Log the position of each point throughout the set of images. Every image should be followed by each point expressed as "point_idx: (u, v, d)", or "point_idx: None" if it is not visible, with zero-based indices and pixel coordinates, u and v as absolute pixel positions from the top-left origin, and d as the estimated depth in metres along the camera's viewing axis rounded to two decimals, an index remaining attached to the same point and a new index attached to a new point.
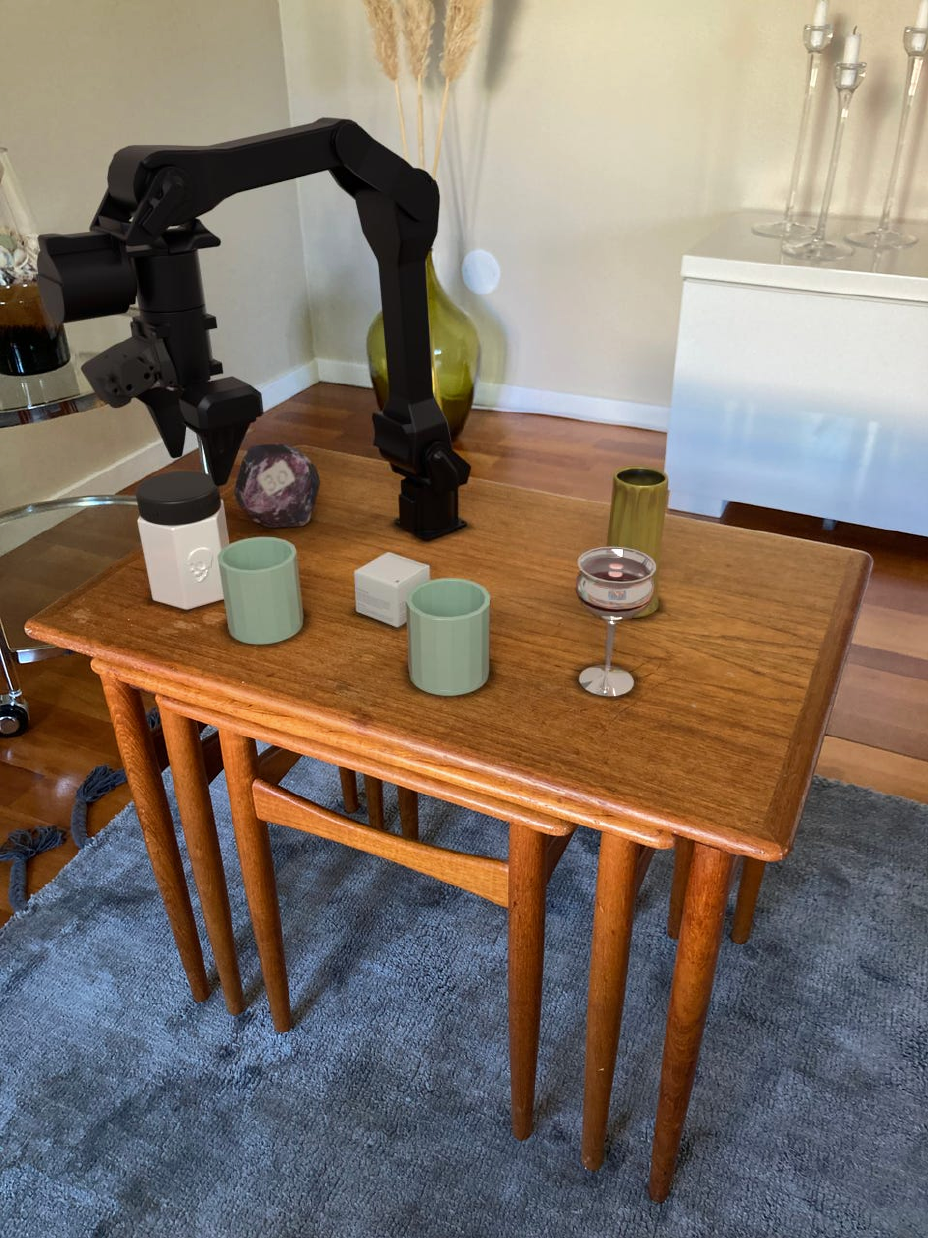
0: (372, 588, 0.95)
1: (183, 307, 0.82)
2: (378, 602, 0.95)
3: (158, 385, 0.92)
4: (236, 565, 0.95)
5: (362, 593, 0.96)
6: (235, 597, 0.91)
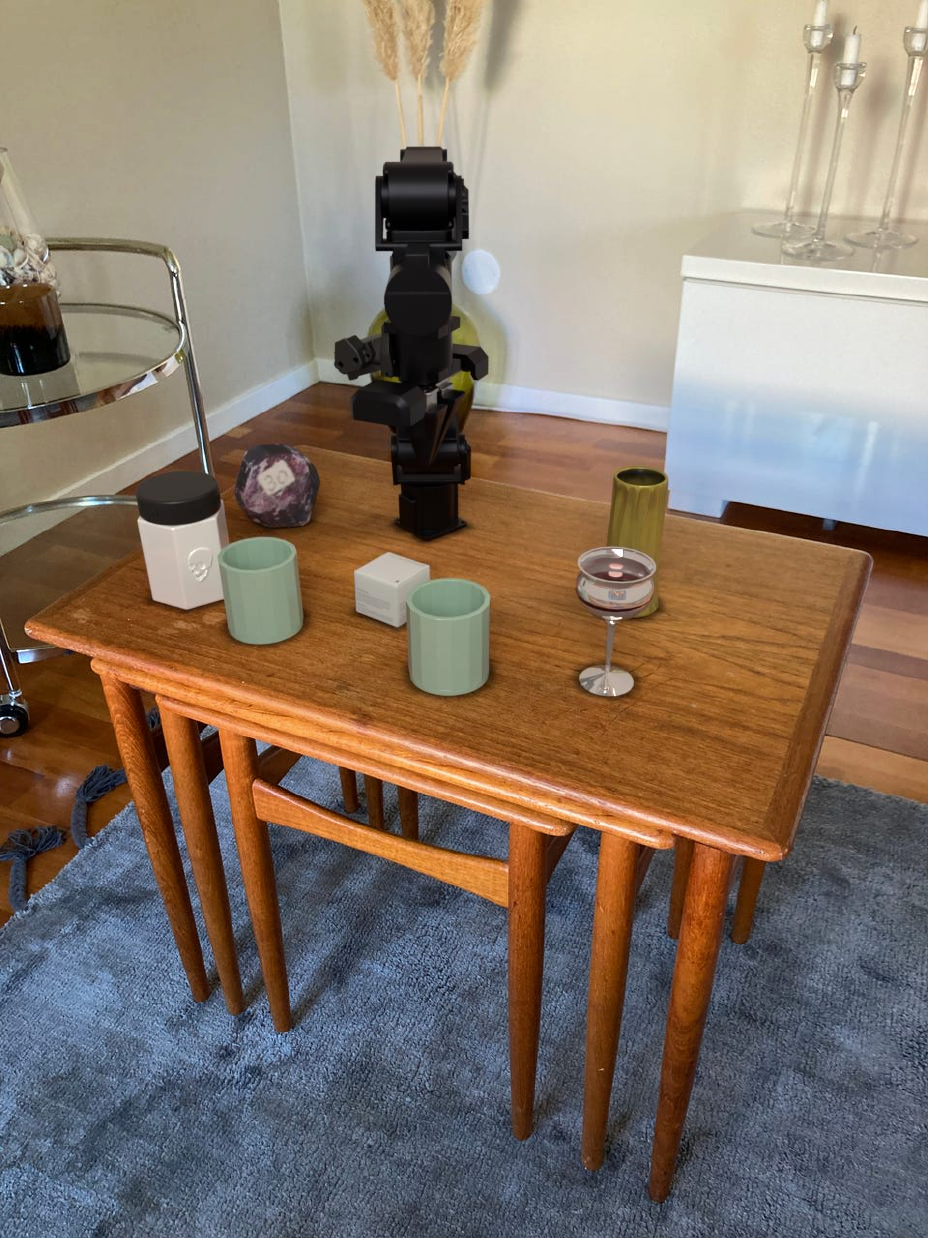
0: (372, 588, 0.95)
1: None
2: (378, 602, 0.95)
3: None
4: (236, 565, 0.95)
5: (362, 593, 0.96)
6: (235, 597, 0.91)
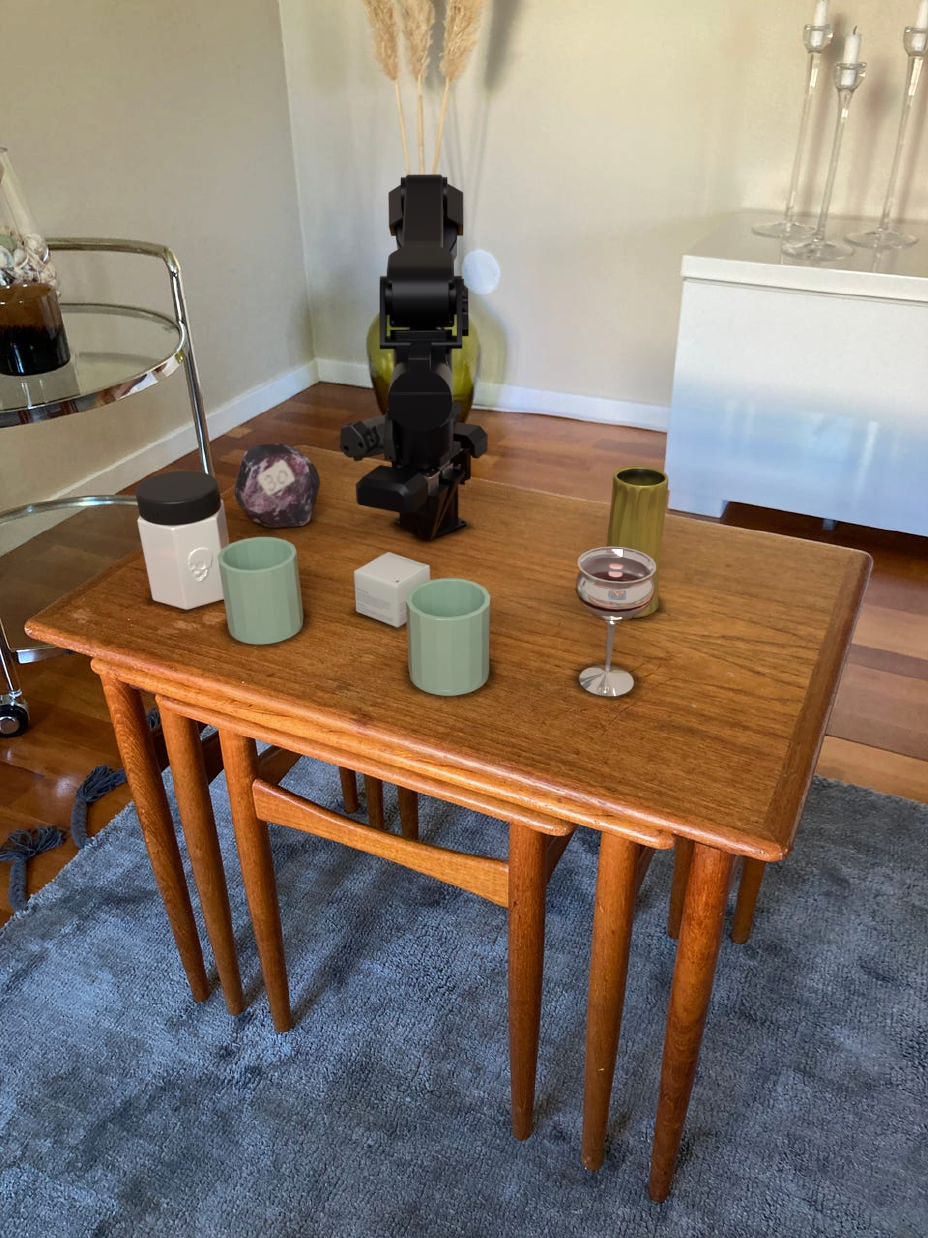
0: (372, 588, 0.95)
1: None
2: (378, 602, 0.95)
3: None
4: (236, 565, 0.95)
5: (362, 593, 0.96)
6: (235, 597, 0.91)
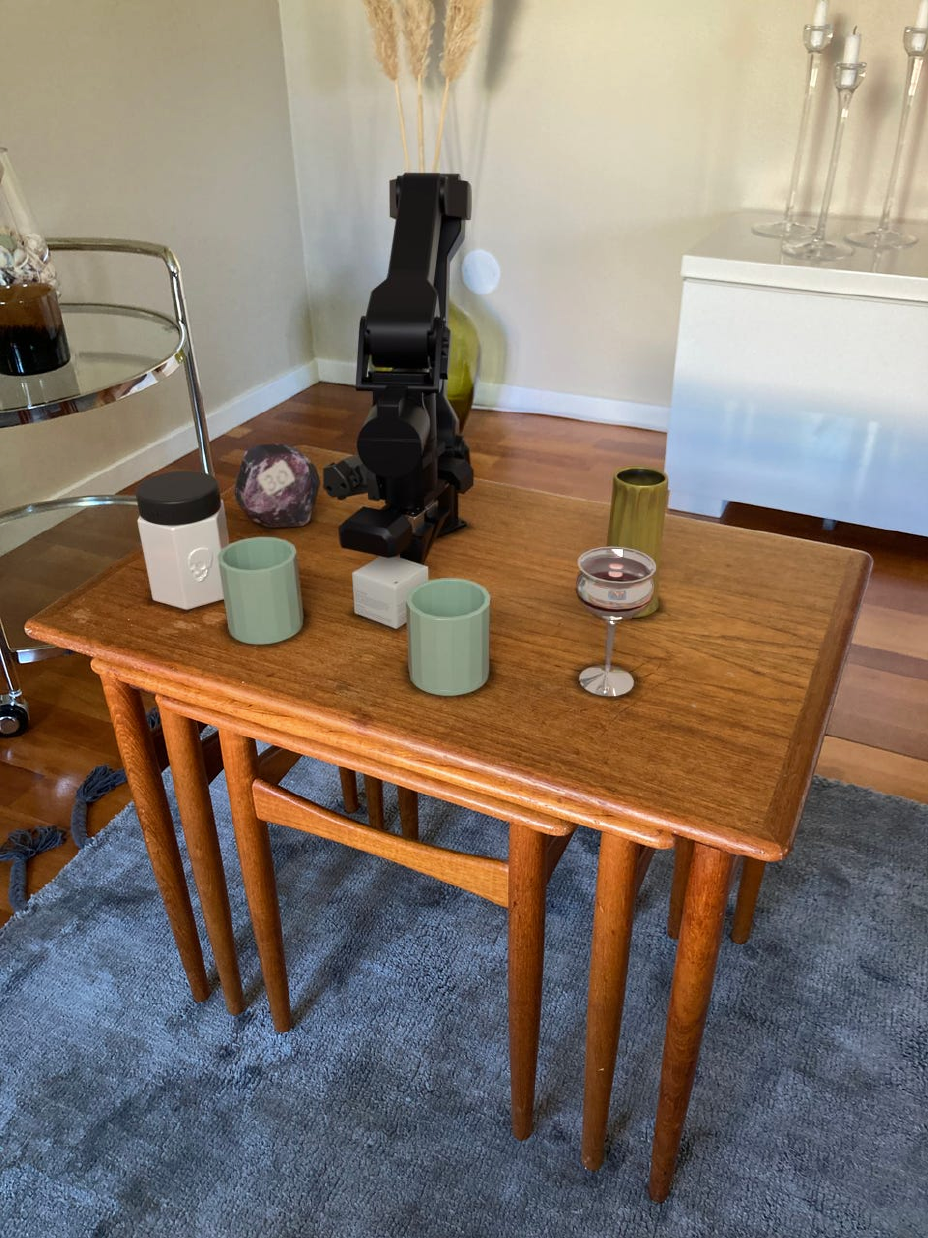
0: (371, 589, 0.95)
1: (435, 434, 0.93)
2: (376, 603, 0.95)
3: None
4: (236, 565, 0.95)
5: (361, 595, 0.96)
6: (235, 597, 0.91)
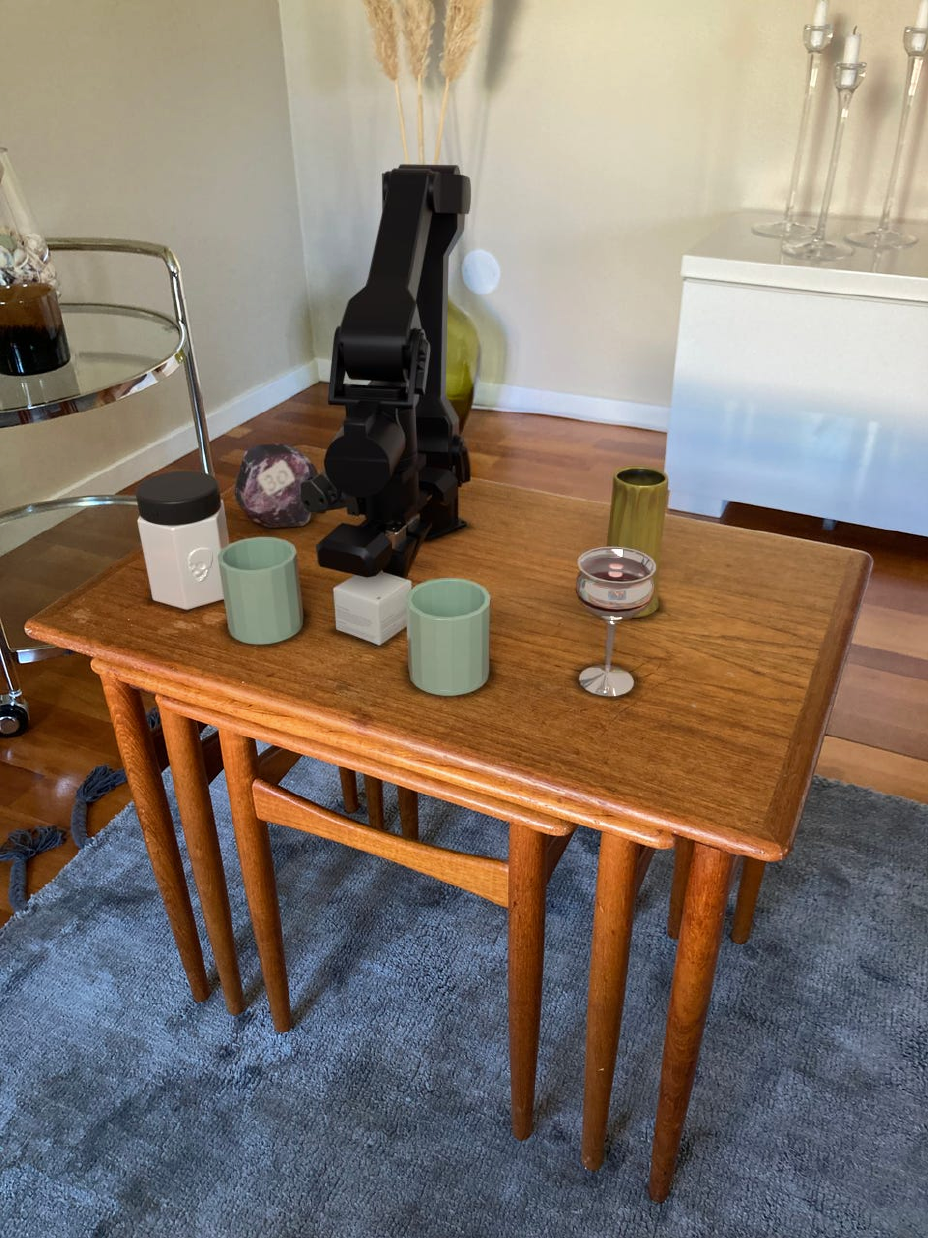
0: (353, 605, 0.92)
1: (415, 449, 0.89)
2: (359, 619, 0.93)
3: None
4: (236, 565, 0.95)
5: (342, 611, 0.93)
6: (235, 597, 0.91)
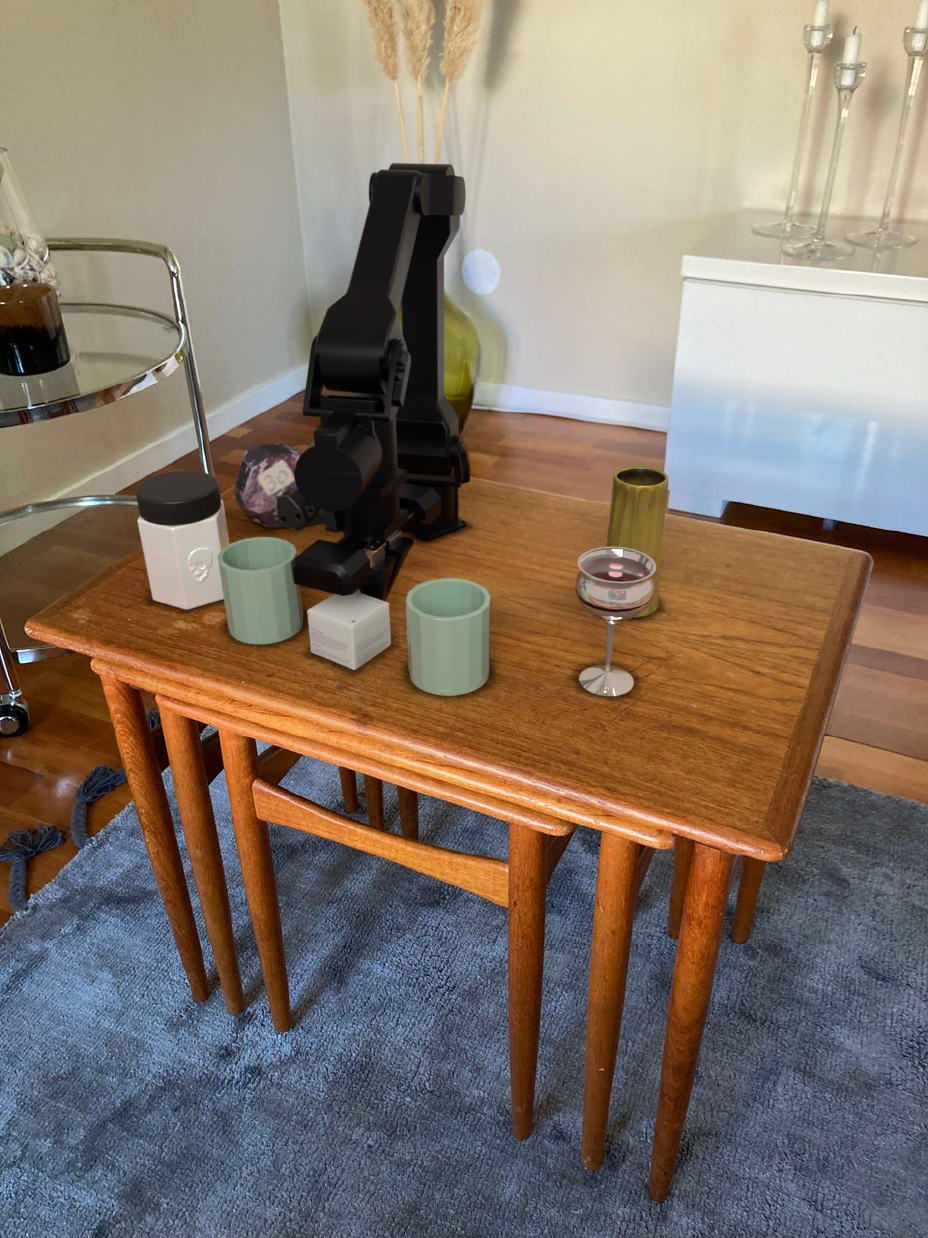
0: (327, 628, 0.89)
1: (395, 464, 0.86)
2: (333, 643, 0.89)
3: None
4: (236, 565, 0.95)
5: (317, 634, 0.90)
6: (235, 597, 0.91)
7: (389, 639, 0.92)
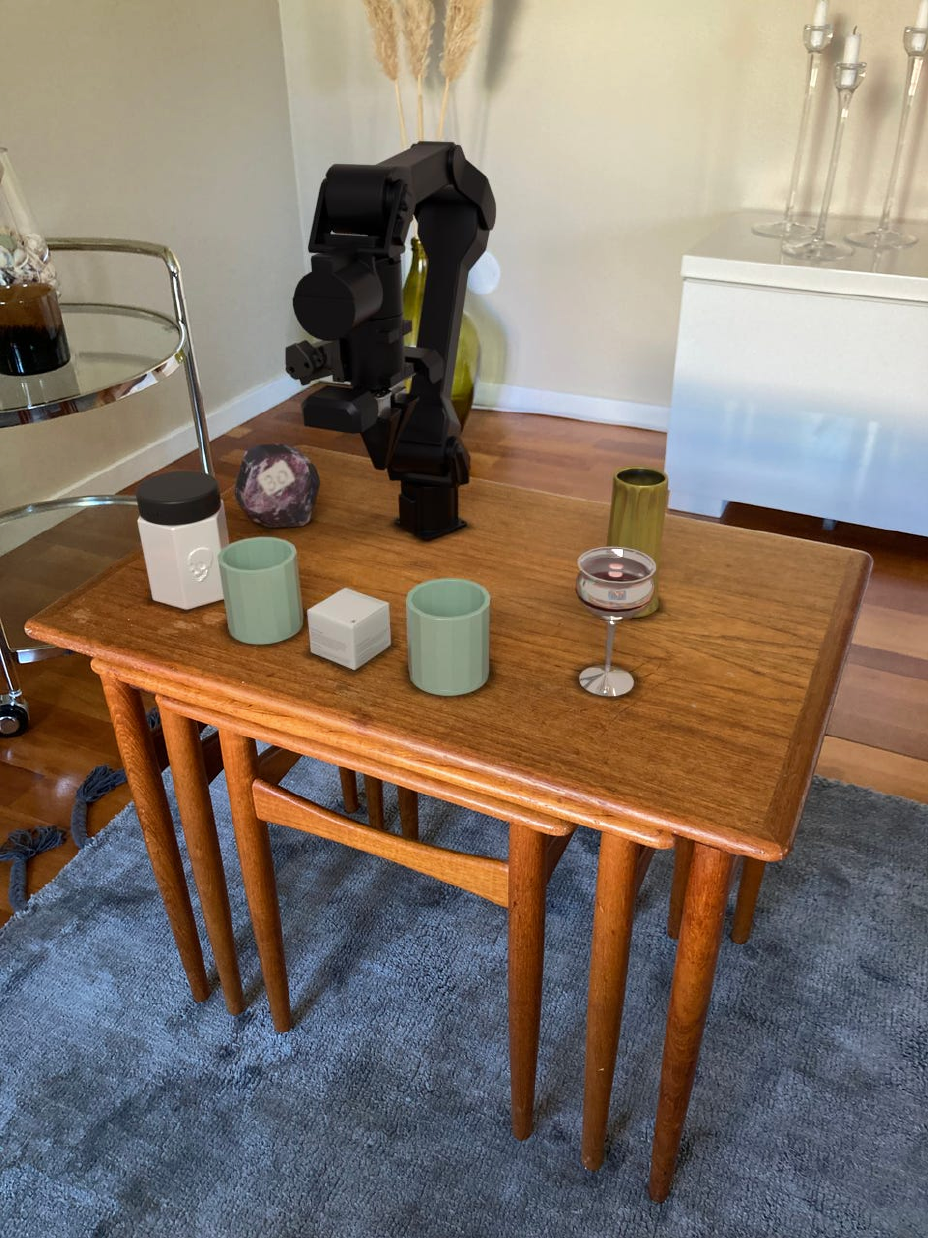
0: (327, 628, 0.89)
1: (399, 311, 0.88)
2: (333, 643, 0.89)
3: None
4: (236, 565, 0.95)
5: (316, 634, 0.90)
6: (235, 597, 0.91)
7: (389, 639, 0.92)
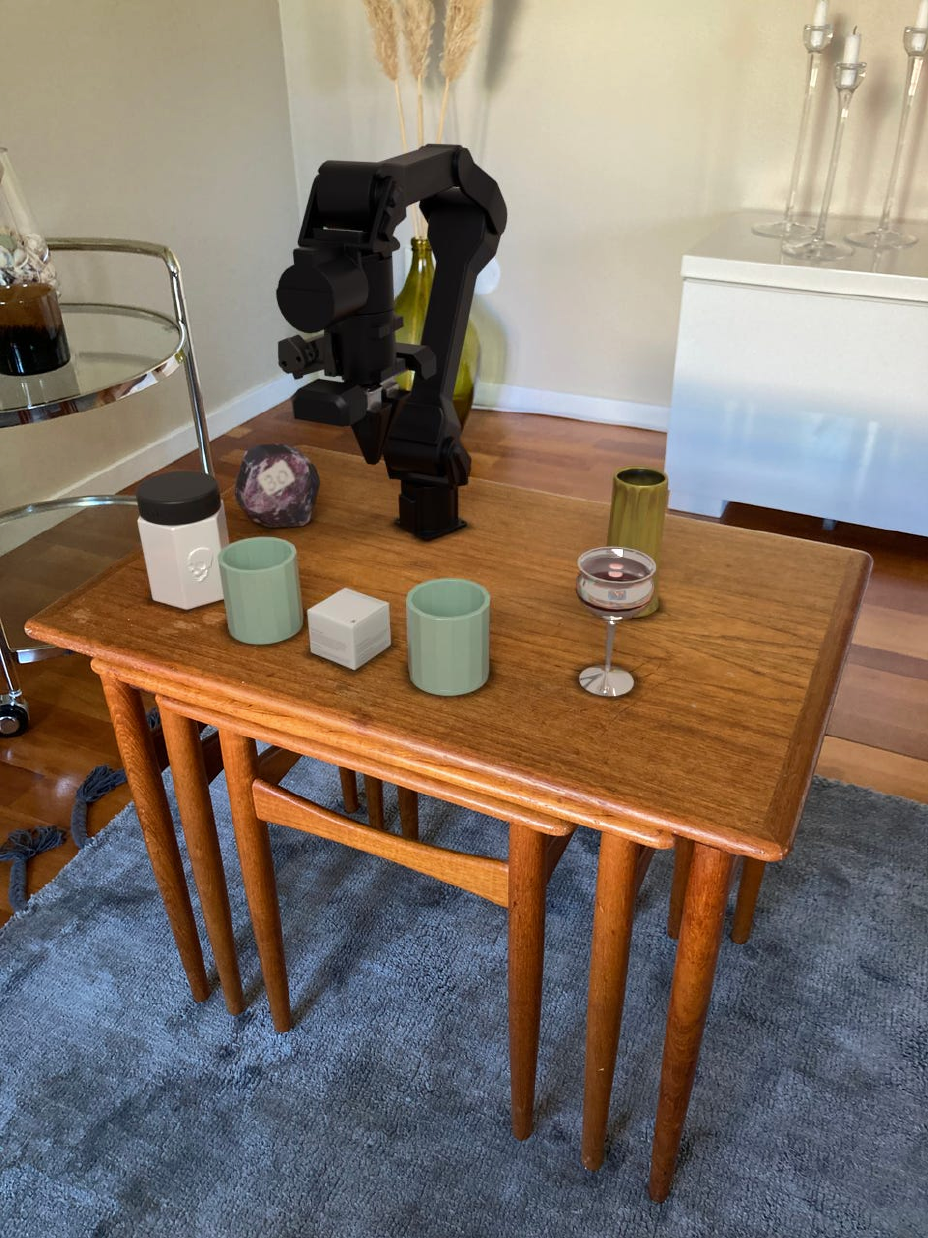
0: (327, 628, 0.89)
1: (389, 307, 0.89)
2: (333, 643, 0.89)
3: None
4: (236, 565, 0.95)
5: (316, 634, 0.90)
6: (235, 597, 0.91)
7: (389, 639, 0.92)
